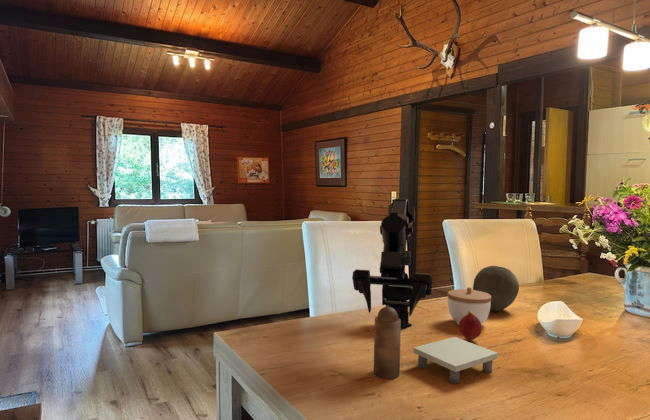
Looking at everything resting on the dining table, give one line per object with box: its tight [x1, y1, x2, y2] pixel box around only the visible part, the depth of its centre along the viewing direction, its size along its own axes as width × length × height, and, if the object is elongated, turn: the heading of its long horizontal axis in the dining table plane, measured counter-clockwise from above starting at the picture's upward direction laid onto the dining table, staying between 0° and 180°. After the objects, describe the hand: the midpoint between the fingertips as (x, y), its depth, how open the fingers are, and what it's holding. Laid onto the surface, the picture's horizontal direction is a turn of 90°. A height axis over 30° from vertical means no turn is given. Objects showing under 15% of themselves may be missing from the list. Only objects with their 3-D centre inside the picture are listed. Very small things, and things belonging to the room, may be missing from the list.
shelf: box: [412, 336, 499, 385], centre depth 96 cm, size 12×14×4 cm
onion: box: [458, 311, 483, 342], centre depth 114 cm, size 6×6×8 cm
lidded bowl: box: [447, 286, 491, 326], centre depth 128 cm, size 13×13×11 cm
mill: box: [373, 306, 402, 380], centre depth 92 cm, size 6×6×15 cm
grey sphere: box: [472, 265, 520, 312], centre depth 143 cm, size 14×14×15 cm
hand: (389, 313), depth 97 cm, fingers open, 9 cm apart
